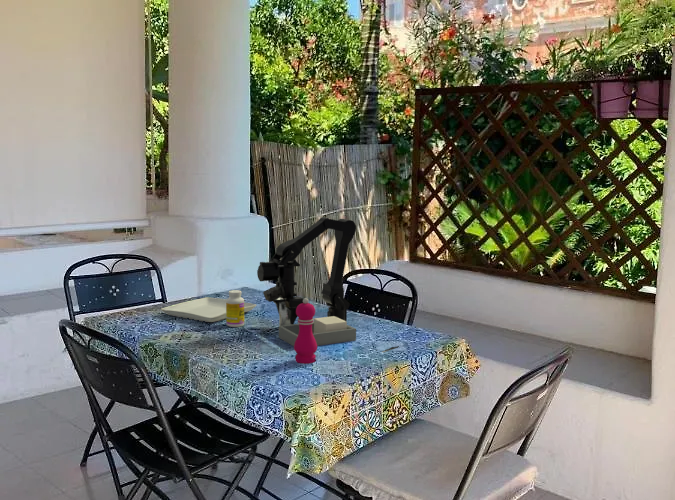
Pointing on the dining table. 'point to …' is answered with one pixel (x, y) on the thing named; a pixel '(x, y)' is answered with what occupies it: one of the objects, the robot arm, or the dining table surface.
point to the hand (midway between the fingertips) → (286, 321)
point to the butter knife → (390, 349)
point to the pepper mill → (305, 334)
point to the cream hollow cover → (329, 324)
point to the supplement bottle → (235, 309)
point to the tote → (317, 335)
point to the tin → (283, 315)
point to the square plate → (203, 309)
